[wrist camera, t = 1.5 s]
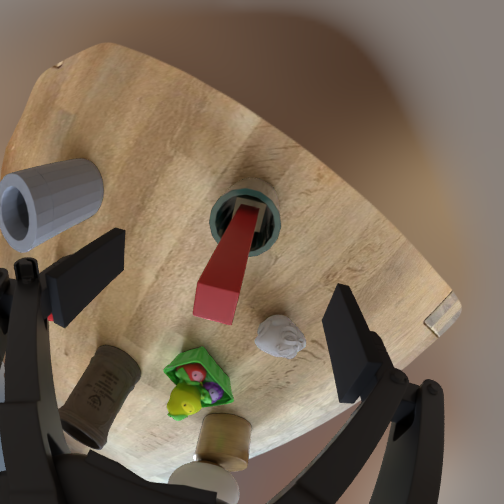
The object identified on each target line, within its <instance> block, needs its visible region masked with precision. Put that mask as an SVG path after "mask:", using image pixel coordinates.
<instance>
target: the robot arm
mask: <svg viewBox="0 0 504 504" xmlns="http://www.w3.org/2000/svg"><path fill="white" fill-rule="evenodd" d="M124 248H125V230H123V229H119V228H114V229H112V230H110V231H109V232H107V233H105V234H104V235H102V236H101V237H99V238H97V239H96V240H94V241H93V242H91V243H89V244H88V245H86V246H85V247H83V248H82V249H80V250H79V251H77V252H76V253H74V254H73V255H68V256H65V257H62V258H61V259H59V260H58V261H57V262H55V263H54V264H52V265H51V266H49V267H48V268H46V269H45V270H43V271H42V272H41V273H39V270H38V263H37V260H36V259H34V258H29V257H27V258H22V259H19V260H18V261H16V262H15V264H14V270H15V275H16V279H10V278H9V275H8V270H6V269H5V268H0V368H1V364H2V361H3V358H4V355H5V352H6V358H5V402H4V403H0V435H1V443H2V450H3V456H4V462H5V467H6V471H1V472H0V504H229V503H227V502H225V501H223V500H221V499H219V498H217V492H214V491H209V490H204V489H199V488H195V487H191V486H187V485H178V484H165V483H155V482H149V481H146V480H144V479H143V478H141V477H139V476H138V475H136V474H135V473H133V472H132V471H130V470H129V469H127V468H126V467H124V466H123V465H121V464H120V463H118V462H116V461H114V460H111V459H109V458H107V457H105V456H103V455H100V454H98V453H96V452H94V451H92V450H89V452H88V455H85V454H79V453H71V452H70V449H69V447H68V445H67V443H66V440H65V437H64V434H63V430H62V425H61V421H60V416H59V412H58V406H57V401H56V395H55V389H54V382H53V375H52V366H51V355H50V341H49V322H48V318H47V317H48V316H49V315H50V314H51V313H52V316H53V321H54V323H56V324H58V325H60V326H62V327H64V328H66V327H67V326H68V324H69V323H70V322H71V321H72V320H73V319H74V318H75V317H76V316H77V315H78V314H79V313H80V312H81V311H82V310H83V309H84V308H85V307H86V306H87V305H88V304H89V303H90V302H91V301H92V300H93V299H94V298H95V297H96V296H97V295H98V294H99V293H100V292H101V291H102V290H103V289H104V288H105V287H106V286H107V285H108V284H109V283H110V282H111V281H112V280H114V279H115V278H116V277H117V276H118V275H119V274H120V273H121V272H122V271H123V270H124ZM322 323H323V328H324V332H325V336H326V341H327V345H328V350H329V354H330V359H331V363H332V368H333V373H334V378H335V383H336V388H337V393H338V398H339V403H355V401H356V400H357V399H358V397H359V396H360V397H361V401H362V402H361V404H360V405H359V406H358V407H357V409H356V410H355V411H354V412H353V413H352V414H351V417H350V418H349V419H348V420H347V422H346V423H345V424H344V425H343V427H342V428H341V429H340V431H338V433H337V434H336V435H335V436H334V437H333V438H332V440H331V441H330V442H329V443H328V444H327V445H326V447H325V448H324V449H323V450H322V451H321V452H320V453H319V454H318V455H317V456H316V457H315V458H314V459H313V460H312V461H311V463H310V464H309V465H308V466H307V467H306V468H305V469H304V470H303V471H302V472H301V473H300V474H299V475H298V476H296V478H295V479H293V480H292V481H291V482H290V483H289V484H288V485H287V486H286V487H285V488H283V489H282V490H281V491H280V492H279V493H278V494H277V495H276V496H274V497H273V498H272V499H271V500H270V501H268V502H267V503H266V504H335V503H336V501H337V500H338V499H339V498H340V497H341V496H342V494H343V493H344V492H345V490H346V489H347V488H348V487H349V485H350V484H351V483H352V481H353V480H354V478H355V477H356V476H357V474H358V473H359V472H360V470H361V469H362V467H363V466H364V464H365V463H366V461H367V460H368V458H369V457H370V455H371V454H372V452H373V450H374V449H375V447H376V446H377V444H378V442H379V441H380V439H381V437H382V436H383V434H384V432H385V430H386V429H387V427H388V425H389V423H390V421H391V422H392V423H391V428H390V433H389V437H388V442H387V446H386V451H385V454H384V458H383V461H382V465H381V469H380V472H379V475H378V479H377V482H376V485H375V488H374V491H373V494H372V496H371V499H370V502H369V504H437V502H438V497H439V490H440V483H441V475H442V465H443V452H444V394H443V389H442V388H441V386H440V385H439V384H438V383H437V382H435V381H433V380H430V379H427V380H425V381H424V382H423V383H422V384H421V385H420V386H418V385H415V384H412V383H409V380H408V377H407V376H406V374H405V373H403V372H402V371H401V370H399V369H397V368H394V366H393V364H392V361H391V359H390V357H389V355H388V352H386V348H385V346H384V344H383V342H382V339H381V338H380V337H379V336H378V334H377V333H376V332H374V331H370V330H369V328H368V326H367V323H366V321H365V319H364V317H363V314H362V312H361V310H360V308H359V306H358V304H357V302H356V299H355V297H354V295H353V293H352V291H351V289H350V287H349V286H347V285H343V284H339V283H338V284H337V286H336V288H335V291H334V293H333V296H332V298H331V300H330V303H329V305H328V307H327V310H326V312H325V314H324V316H323V319H322Z"/></svg>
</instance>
